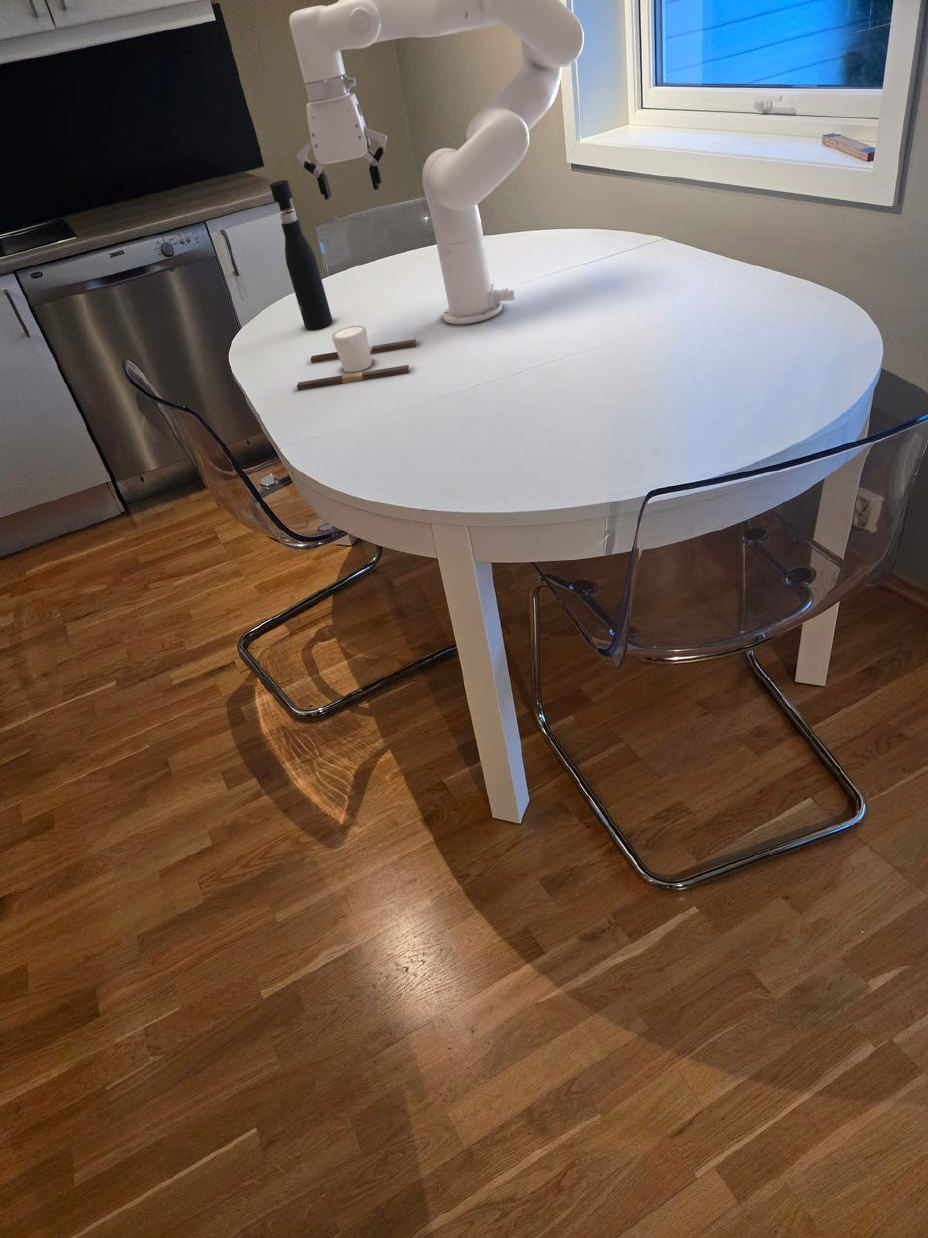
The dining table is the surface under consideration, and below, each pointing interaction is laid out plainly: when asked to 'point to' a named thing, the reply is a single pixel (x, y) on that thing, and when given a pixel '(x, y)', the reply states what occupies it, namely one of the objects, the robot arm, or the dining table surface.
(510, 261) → the dining table surface
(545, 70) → the robot arm
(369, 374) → the guide rails
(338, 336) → the white cup
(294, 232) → the wine bottle
